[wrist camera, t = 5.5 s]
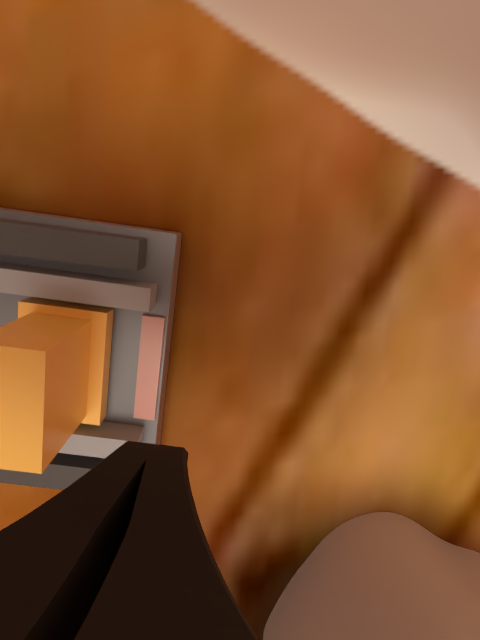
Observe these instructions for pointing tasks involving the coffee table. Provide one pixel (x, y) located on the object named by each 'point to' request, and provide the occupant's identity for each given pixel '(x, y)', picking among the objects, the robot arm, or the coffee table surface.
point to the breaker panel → (104, 291)
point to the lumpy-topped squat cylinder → (381, 586)
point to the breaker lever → (51, 378)
